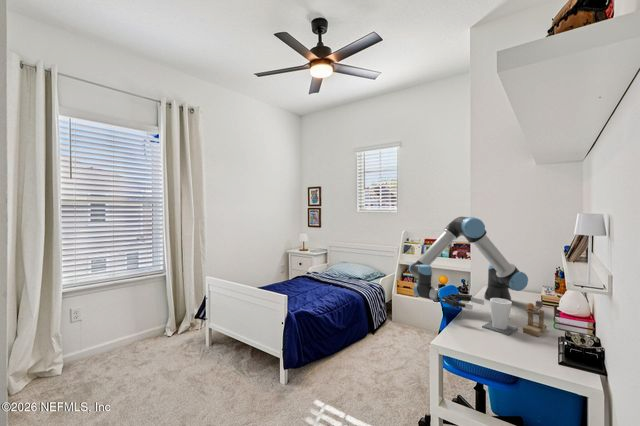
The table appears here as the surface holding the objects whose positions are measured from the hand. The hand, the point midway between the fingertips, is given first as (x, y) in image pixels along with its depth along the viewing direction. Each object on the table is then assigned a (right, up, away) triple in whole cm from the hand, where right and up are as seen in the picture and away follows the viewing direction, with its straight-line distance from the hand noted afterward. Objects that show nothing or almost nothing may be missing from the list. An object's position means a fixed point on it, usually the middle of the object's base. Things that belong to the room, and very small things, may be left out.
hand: (478, 304), depth 161 cm
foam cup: (+7, -9, -8) cm, 14 cm away
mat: (+7, -9, -8) cm, 14 cm away
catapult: (+21, -10, -12) cm, 26 cm away
